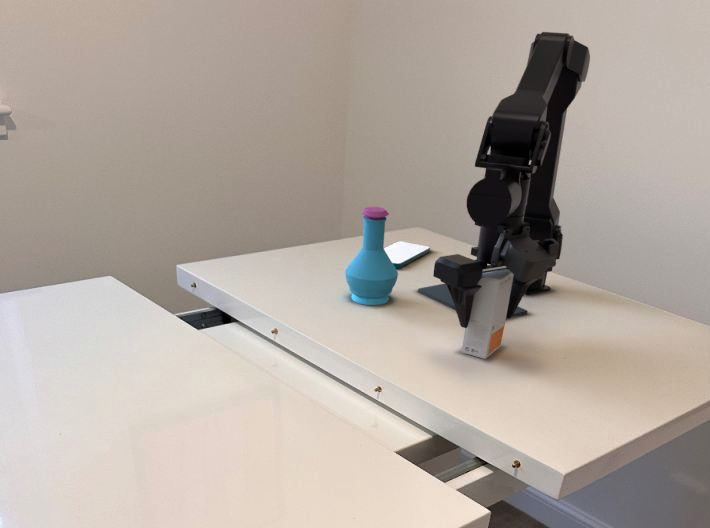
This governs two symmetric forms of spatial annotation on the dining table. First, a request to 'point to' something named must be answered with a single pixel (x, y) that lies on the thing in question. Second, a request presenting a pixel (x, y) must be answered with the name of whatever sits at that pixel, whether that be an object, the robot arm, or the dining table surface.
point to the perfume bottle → (372, 263)
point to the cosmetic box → (488, 314)
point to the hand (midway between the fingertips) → (486, 322)
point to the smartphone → (405, 252)
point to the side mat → (444, 297)
